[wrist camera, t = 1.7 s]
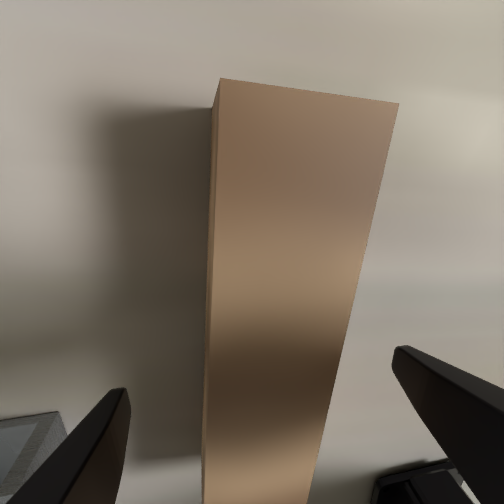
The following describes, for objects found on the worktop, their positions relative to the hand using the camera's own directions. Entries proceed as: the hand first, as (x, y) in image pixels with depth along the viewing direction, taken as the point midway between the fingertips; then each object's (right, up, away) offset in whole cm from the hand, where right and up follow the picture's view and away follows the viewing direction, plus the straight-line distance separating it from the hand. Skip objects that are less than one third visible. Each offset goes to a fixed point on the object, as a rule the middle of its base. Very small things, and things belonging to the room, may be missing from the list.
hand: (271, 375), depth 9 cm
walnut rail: (-1, +1, +3) cm, 3 cm away
